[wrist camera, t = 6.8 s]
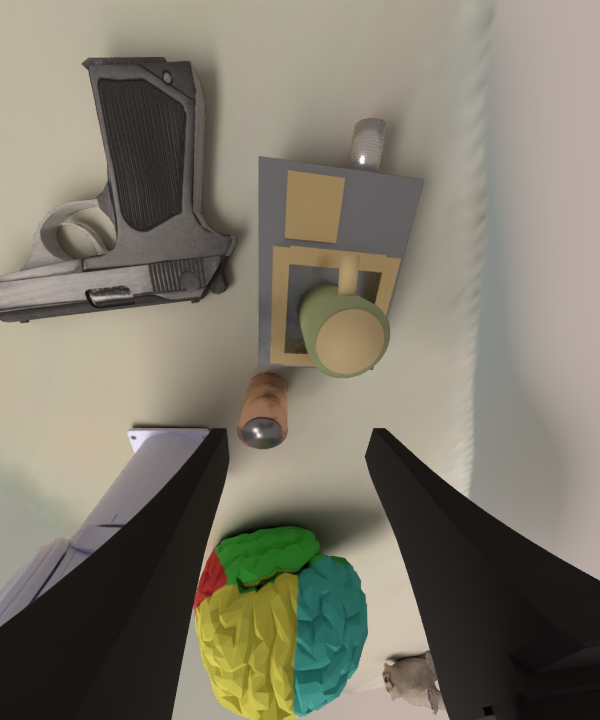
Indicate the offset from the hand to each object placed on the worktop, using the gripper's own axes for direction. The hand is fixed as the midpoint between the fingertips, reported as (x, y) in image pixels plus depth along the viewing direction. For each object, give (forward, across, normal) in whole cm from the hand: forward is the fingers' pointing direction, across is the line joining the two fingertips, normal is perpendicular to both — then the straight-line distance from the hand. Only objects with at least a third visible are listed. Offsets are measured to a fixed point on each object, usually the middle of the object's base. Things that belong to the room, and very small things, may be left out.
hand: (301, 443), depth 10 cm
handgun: (+11, +14, -10) cm, 20 cm away
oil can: (+7, -2, -5) cm, 9 cm away
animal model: (+11, -52, +121) cm, 132 cm away
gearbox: (+10, -2, -8) cm, 13 cm away
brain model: (+11, 0, +35) cm, 36 cm away
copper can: (+10, +2, +4) cm, 11 cm away
